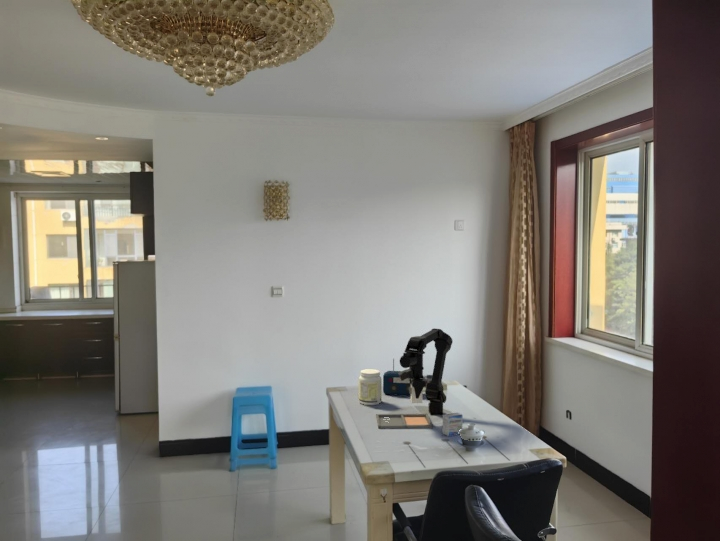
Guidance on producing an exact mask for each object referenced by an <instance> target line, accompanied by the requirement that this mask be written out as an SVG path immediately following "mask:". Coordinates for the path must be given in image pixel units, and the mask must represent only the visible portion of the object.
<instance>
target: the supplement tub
mask: <svg viewBox="0 0 720 541" xmlns="http://www.w3.org/2000/svg"><path fill="white" fill-rule="evenodd" d="M382 385H383V378H382V376H381V371H380V370H379V369H374V368H366V369H365V368H364V369H361V370H360V376H359V377H358V402H359V403H360V404H361V405H363V404H364V406H377V405H380V404H381V402H382ZM379 403H380V404H379Z"/></svg>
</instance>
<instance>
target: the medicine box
mask: <svg viewBox="0 0 720 541" xmlns="http://www.w3.org/2000/svg"><path fill="white" fill-rule="evenodd" d="M463 416H464V415H463V414H462V413H460V412H452V413H445V414H444V415H442V434H443V435H445V436H447V437H452V435H453V436H457V435H456V434H458V432H459V430H460V429H462V430H463ZM458 435H459V434H458Z"/></svg>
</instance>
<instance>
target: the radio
mask: <svg viewBox="0 0 720 541" xmlns="http://www.w3.org/2000/svg"><path fill="white" fill-rule="evenodd" d="M392 360H393V361H392V363H393V364H392V365H393V366H392V368H393V369H392V370H387V371H385V372H384V373H383V375H382V376H383V378H382V393H383V394H385V395H387V394H390V395H389V396H400V395H407V396H406V397H411V394H410V387H411V384H412V383H411V382H410V381H409V380H411V377H410V378H407V379H405V380H403V381H401V379H400V376H399V374H398V373H399V372H401V371H402V370H401V371H400V370H395V358H393V359H392Z"/></svg>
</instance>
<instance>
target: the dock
mask: <svg viewBox="0 0 720 541" xmlns="http://www.w3.org/2000/svg"><path fill="white" fill-rule="evenodd" d="M384 417H389V418H390V420H387V419H389V418H384ZM375 418H376V423H377V428H378V429H380V430H381V429H383V428H384V429H386V428H388V429H433V428H434V424H433V423H432V420H431V419H430V416H429V415H428V413H376V414H375ZM383 419H386V420H383ZM385 421H388V422H389V423H388V422H385Z"/></svg>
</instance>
